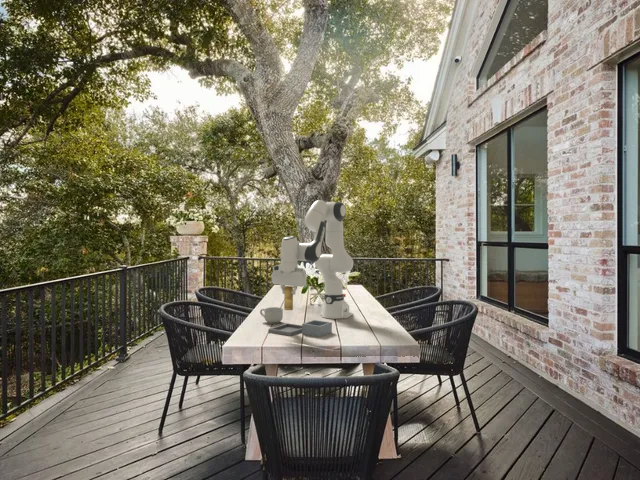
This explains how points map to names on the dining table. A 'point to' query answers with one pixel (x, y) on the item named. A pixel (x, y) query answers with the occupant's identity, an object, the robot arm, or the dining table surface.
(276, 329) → the tray
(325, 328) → the grey open box
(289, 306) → the peg
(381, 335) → the dining table surface
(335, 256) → the robot arm
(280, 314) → the teacup
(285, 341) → the dining table surface
